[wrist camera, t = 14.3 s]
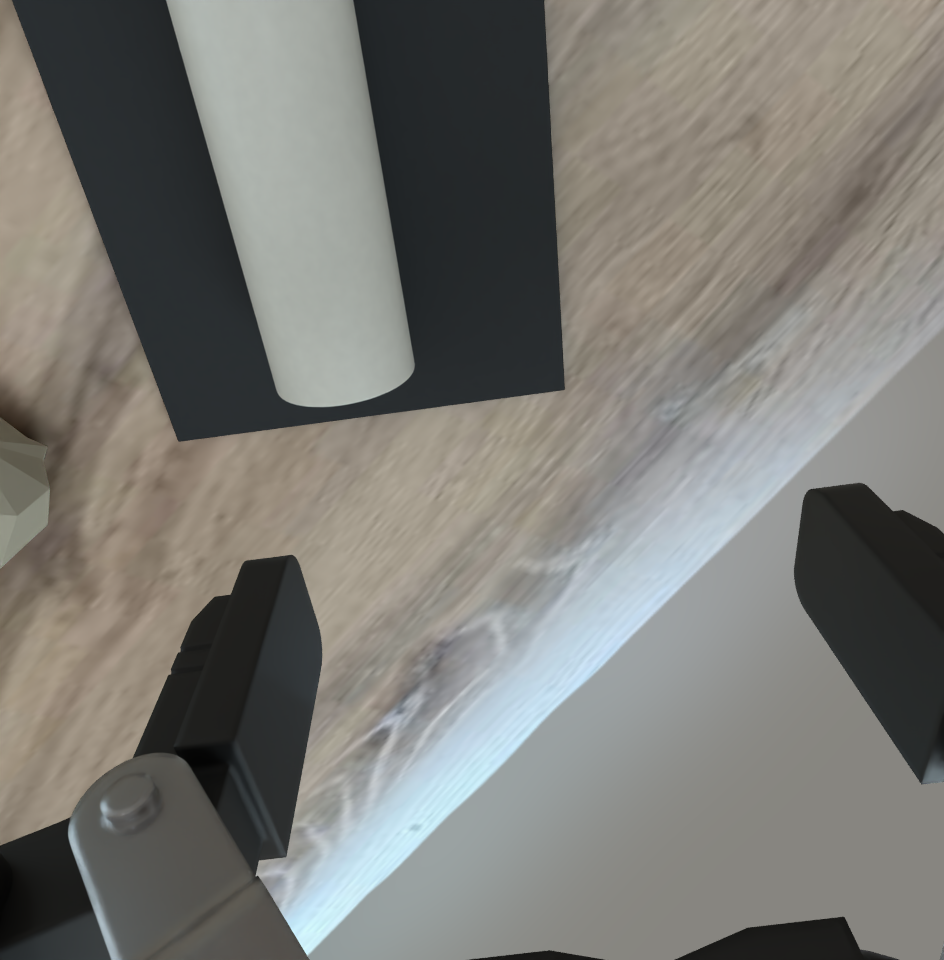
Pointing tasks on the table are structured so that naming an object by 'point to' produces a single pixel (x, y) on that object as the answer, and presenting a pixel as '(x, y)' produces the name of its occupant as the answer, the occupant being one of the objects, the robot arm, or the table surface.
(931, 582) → the robot arm
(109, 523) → the table surface
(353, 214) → the towel roll
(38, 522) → the faceted club
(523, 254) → the mat
